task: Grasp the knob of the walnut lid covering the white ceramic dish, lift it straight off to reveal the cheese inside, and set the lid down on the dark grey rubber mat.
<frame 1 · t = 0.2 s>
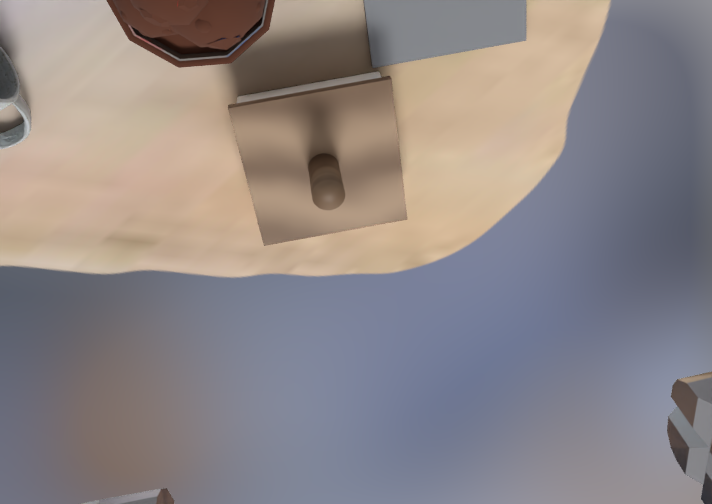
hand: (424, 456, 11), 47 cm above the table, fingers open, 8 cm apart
dish: (320, 148, 59), on the table
lid: (323, 163, 56), point 3 cm above the table, touching dish
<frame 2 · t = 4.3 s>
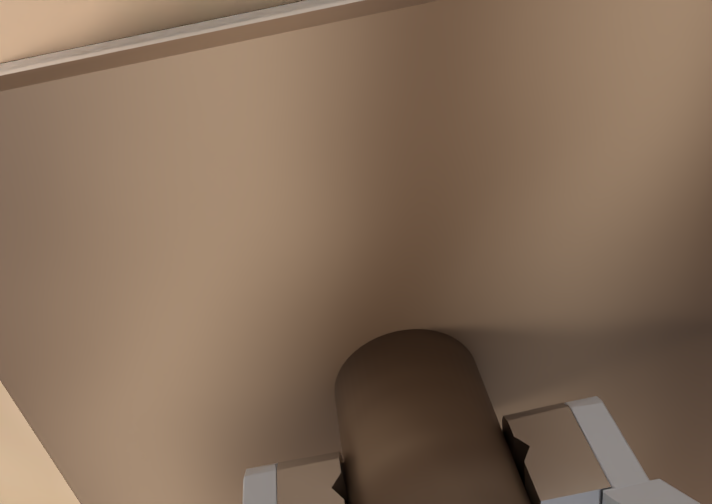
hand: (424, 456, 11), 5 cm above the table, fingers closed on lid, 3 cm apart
dish: (375, 267, 15), on the table
lid: (398, 355, 13), point 3 cm above the table, touching dish, gripper
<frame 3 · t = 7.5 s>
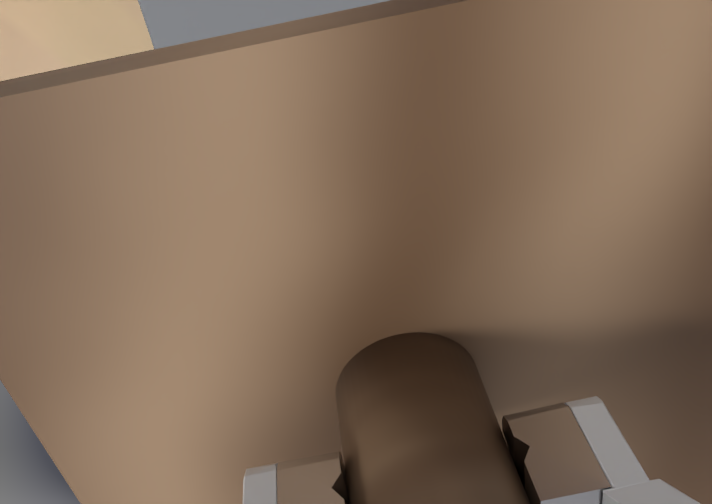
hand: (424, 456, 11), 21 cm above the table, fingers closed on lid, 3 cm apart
mat: (325, 66, 28), on the table
lid: (399, 358, 13), point 18 cm above the table, touching gripper
when the fingers open (4 cm above the table, at t = 11.0 s): lid drops 2 cm, resting on mat.
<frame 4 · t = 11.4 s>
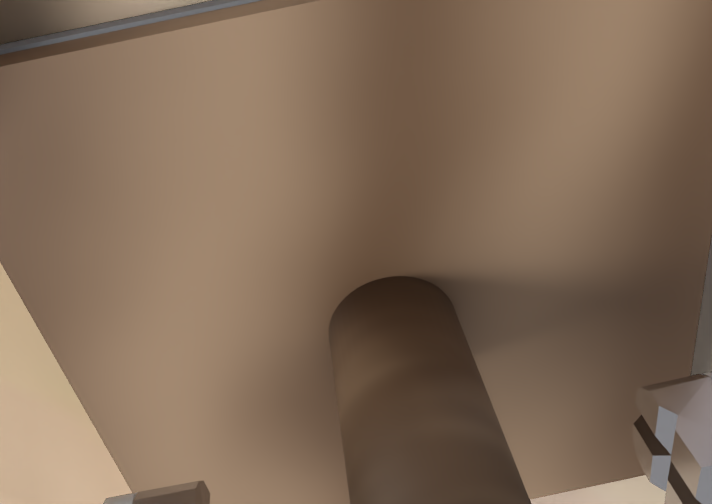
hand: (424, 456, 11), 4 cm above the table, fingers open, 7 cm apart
mat: (380, 292, 14), on the table
lid: (386, 305, 14), resting on mat
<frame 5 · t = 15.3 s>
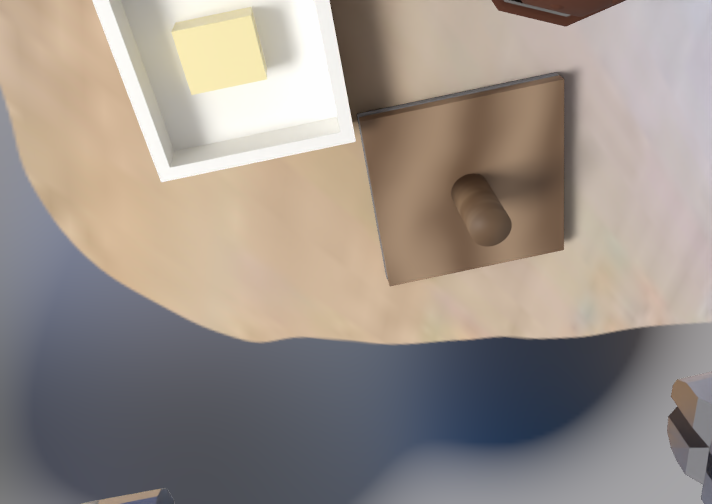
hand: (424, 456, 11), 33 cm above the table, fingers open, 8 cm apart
mat: (464, 182, 46), on the table
dish: (233, 49, 39), on the table
lid: (467, 185, 46), resting on mat
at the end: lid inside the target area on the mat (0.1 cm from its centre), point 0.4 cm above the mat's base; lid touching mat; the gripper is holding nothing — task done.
